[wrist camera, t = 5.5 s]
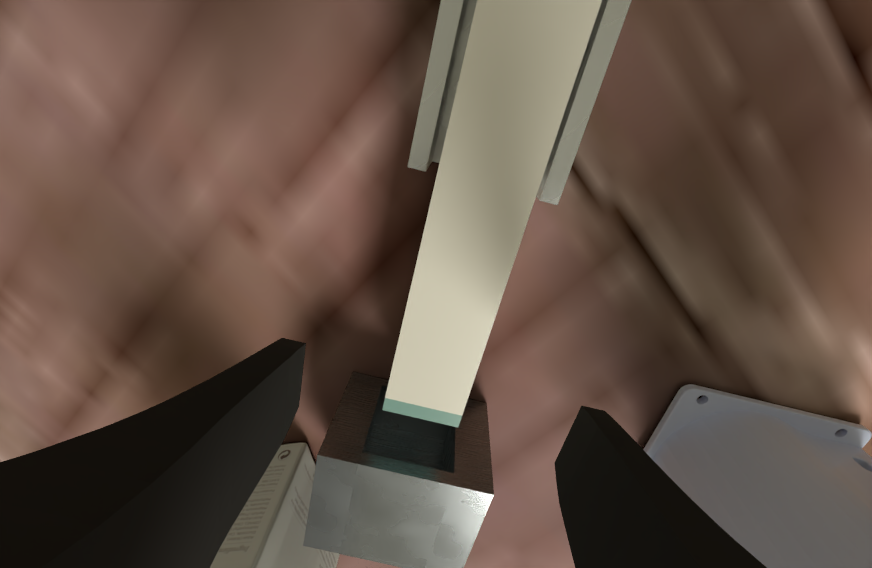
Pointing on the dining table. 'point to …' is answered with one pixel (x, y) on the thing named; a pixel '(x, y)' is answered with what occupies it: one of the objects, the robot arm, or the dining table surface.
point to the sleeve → (446, 73)
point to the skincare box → (276, 518)
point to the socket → (399, 482)
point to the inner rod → (484, 194)
